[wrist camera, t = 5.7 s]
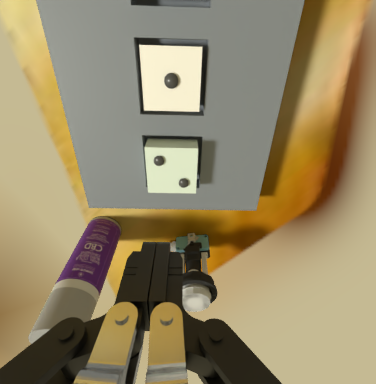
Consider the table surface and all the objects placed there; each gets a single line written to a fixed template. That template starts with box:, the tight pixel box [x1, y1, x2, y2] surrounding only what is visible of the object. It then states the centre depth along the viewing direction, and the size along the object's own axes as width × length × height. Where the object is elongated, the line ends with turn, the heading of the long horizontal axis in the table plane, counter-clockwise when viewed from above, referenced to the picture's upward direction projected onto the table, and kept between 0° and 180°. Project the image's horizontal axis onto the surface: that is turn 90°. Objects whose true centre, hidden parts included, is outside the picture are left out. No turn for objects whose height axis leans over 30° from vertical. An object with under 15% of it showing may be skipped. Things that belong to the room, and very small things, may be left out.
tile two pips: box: [144, 139, 198, 194], centre depth 24 cm, size 5×5×3 cm
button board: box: [36, 0, 305, 210], centre depth 21 cm, size 28×20×3 cm
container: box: [28, 216, 121, 344], centre depth 27 cm, size 5×5×15 cm
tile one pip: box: [139, 45, 202, 112], centre depth 20 cm, size 5×5×3 cm
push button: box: [170, 233, 217, 312], centre depth 30 cm, size 7×5×10 cm
